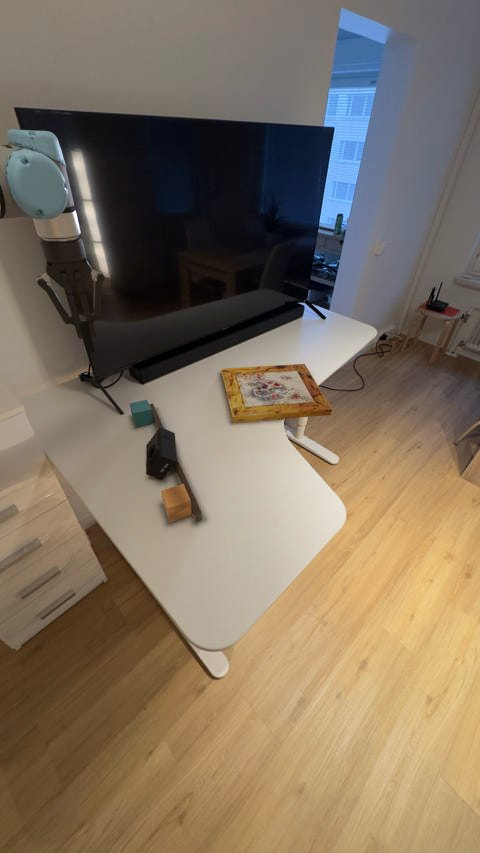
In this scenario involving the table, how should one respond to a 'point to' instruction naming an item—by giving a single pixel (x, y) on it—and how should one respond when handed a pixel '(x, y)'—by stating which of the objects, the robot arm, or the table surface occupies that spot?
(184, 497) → the oak block
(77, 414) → the table surface
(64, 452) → the table surface
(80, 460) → the table surface
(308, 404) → the picture frame
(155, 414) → the rail
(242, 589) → the table surface
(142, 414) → the teal block
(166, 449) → the digital camera
